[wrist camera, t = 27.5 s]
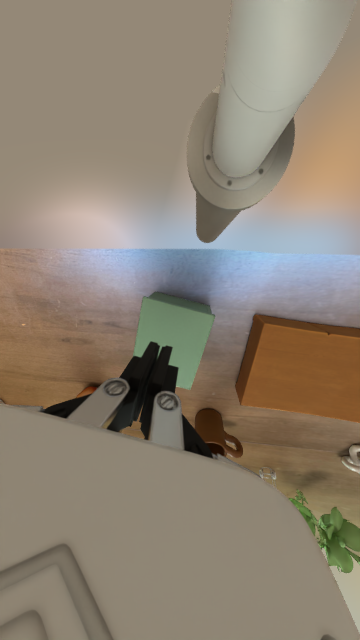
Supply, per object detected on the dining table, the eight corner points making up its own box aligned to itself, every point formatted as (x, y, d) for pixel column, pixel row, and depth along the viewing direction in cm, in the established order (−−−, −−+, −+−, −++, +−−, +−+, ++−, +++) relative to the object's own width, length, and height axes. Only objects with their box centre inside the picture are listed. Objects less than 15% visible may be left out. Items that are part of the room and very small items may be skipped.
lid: (144, 295, 29) (142, 296, 28) (215, 314, 29) (215, 316, 28) (131, 371, 35) (130, 373, 34) (190, 387, 35) (190, 389, 34)
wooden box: (266, 315, 31) (473, 341, 29) (255, 306, 37) (425, 327, 35) (239, 411, 39) (400, 436, 37) (233, 390, 45) (371, 411, 43)
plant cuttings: (304, 466, 61) (353, 481, 43) (323, 540, 52) (396, 599, 33) (207, 457, 64) (213, 467, 46) (207, 524, 55) (216, 571, 36)
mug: (240, 414, 47) (250, 449, 38) (232, 433, 50) (240, 470, 41) (198, 405, 48) (198, 438, 39) (192, 424, 50) (192, 459, 41)
